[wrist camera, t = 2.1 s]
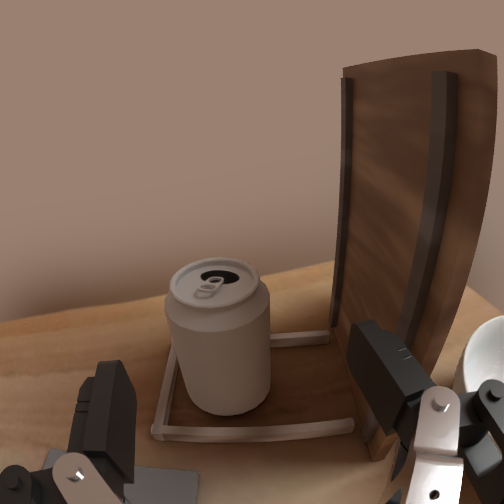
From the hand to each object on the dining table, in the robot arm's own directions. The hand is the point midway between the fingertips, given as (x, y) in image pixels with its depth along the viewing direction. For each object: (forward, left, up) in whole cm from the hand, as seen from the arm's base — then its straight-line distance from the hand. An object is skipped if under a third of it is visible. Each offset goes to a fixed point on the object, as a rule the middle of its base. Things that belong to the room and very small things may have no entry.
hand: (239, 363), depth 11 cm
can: (-2, +11, -16) cm, 19 cm away
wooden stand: (0, +11, -15) cm, 19 cm away
